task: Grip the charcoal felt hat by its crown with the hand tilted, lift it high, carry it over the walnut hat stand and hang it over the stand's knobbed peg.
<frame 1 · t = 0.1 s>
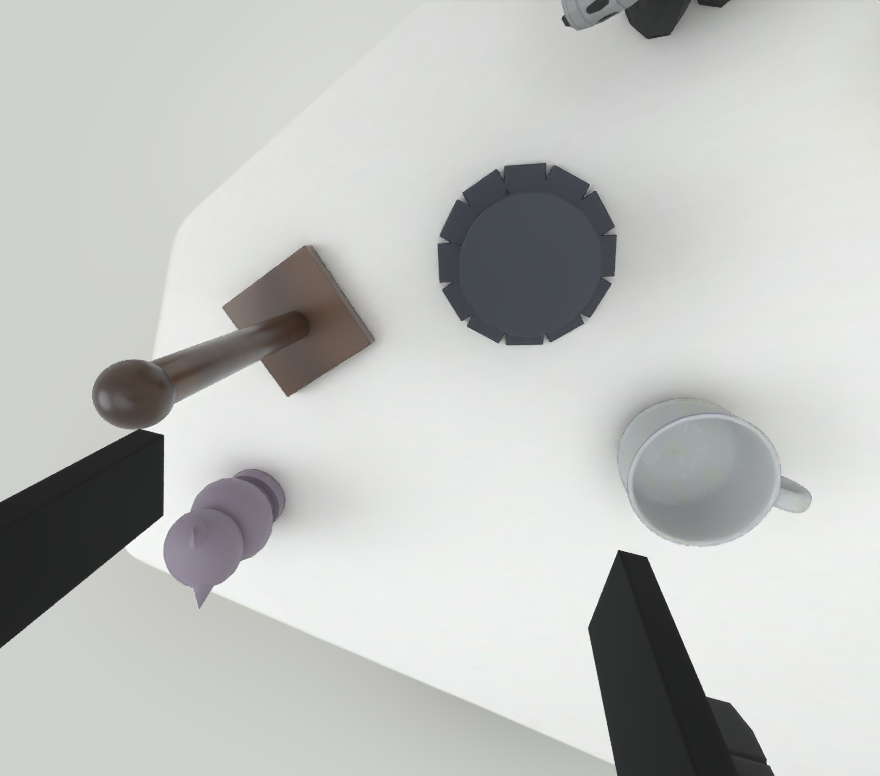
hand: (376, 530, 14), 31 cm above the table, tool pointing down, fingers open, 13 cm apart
teacup: (686, 447, 43), on the table
hat: (524, 259, 40), on the table
hat stand: (302, 322, 44), on the table
cat figurine: (256, 494, 51), on the table
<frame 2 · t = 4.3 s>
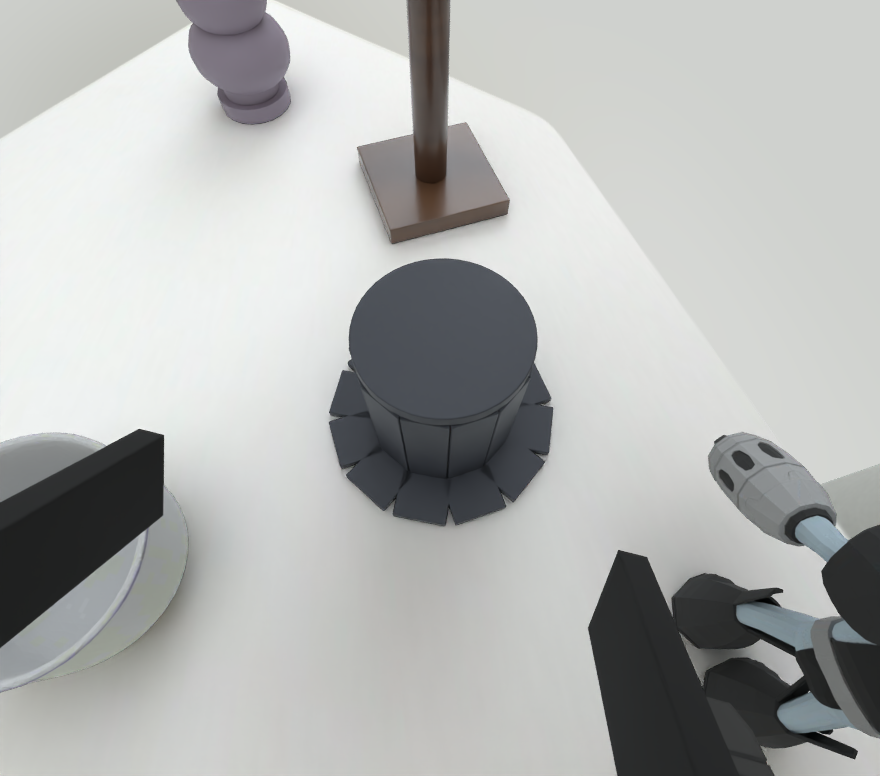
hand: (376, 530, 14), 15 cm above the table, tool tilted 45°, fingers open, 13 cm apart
robot: (722, 654, 26), on the table
teacup: (98, 591, 27), on the table
hat: (441, 412, 32), on the table
hat stand: (431, 187, 41), on the table
cat figurine: (259, 103, 46), on the table
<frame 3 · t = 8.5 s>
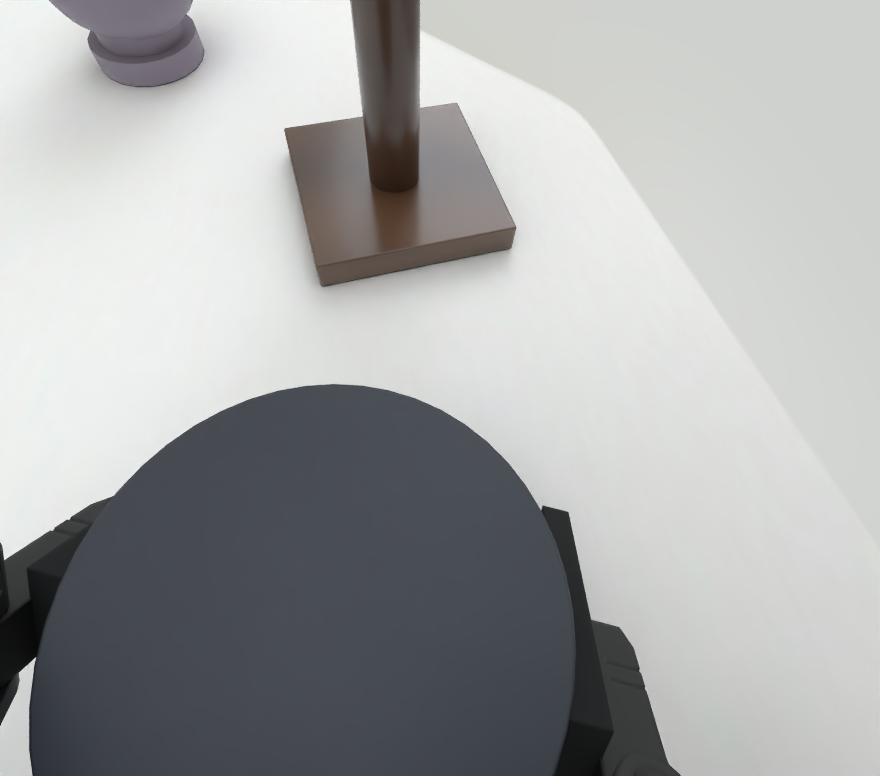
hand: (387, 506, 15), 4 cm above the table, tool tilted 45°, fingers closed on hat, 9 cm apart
hat: (369, 619, 17), on the table, touching gripper
hat stand: (395, 197, 26), on the table
cat figurine: (156, 59, 31), on the table
when the fingers open (18 cm above the table, at t = 22.4 s): hat stays where it is, resting on hat stand.
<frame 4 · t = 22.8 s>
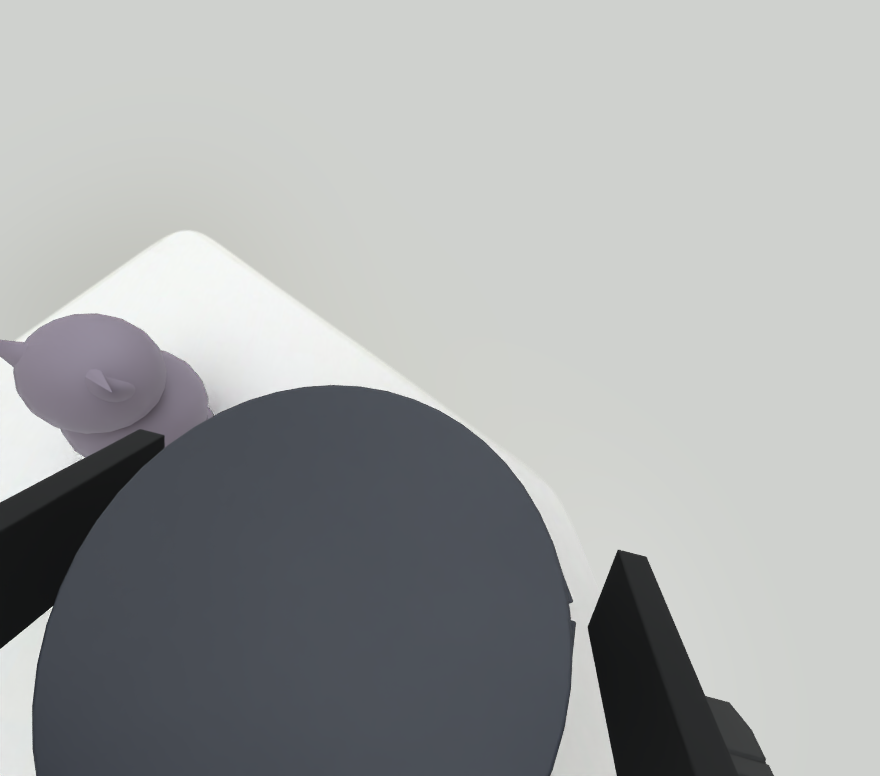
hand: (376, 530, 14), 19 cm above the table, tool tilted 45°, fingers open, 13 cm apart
hat: (369, 617, 17), point 14 cm above the table, touching hat stand
cat figurine: (172, 434, 34), on the table
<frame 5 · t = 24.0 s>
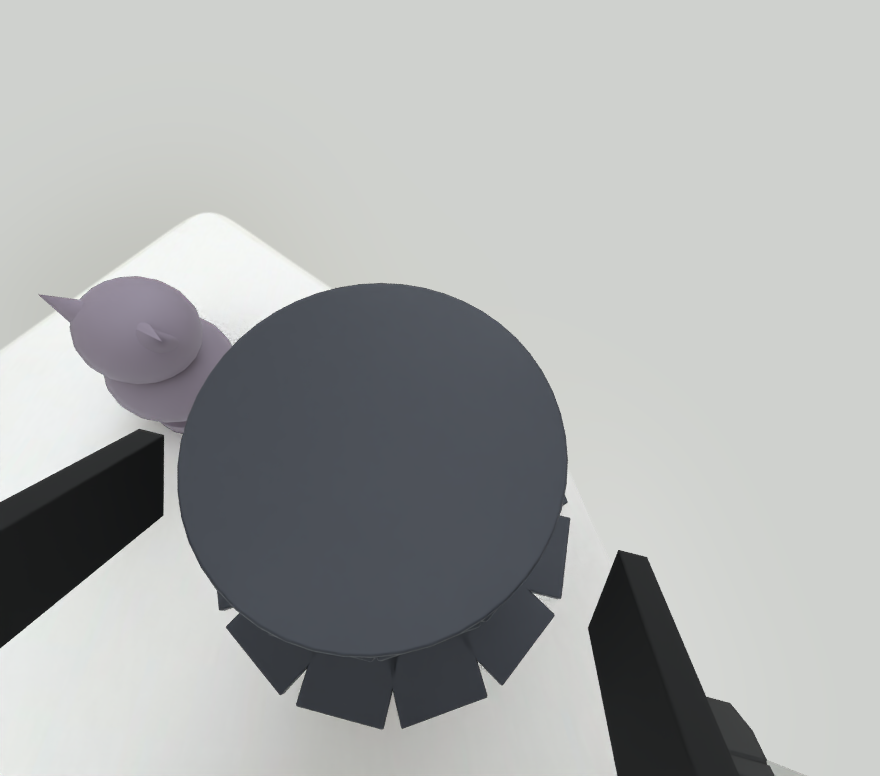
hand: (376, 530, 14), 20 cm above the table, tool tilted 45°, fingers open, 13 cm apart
hat: (394, 516, 20), point 14 cm above the table, touching hat stand
cat figurine: (201, 396, 37), on the table
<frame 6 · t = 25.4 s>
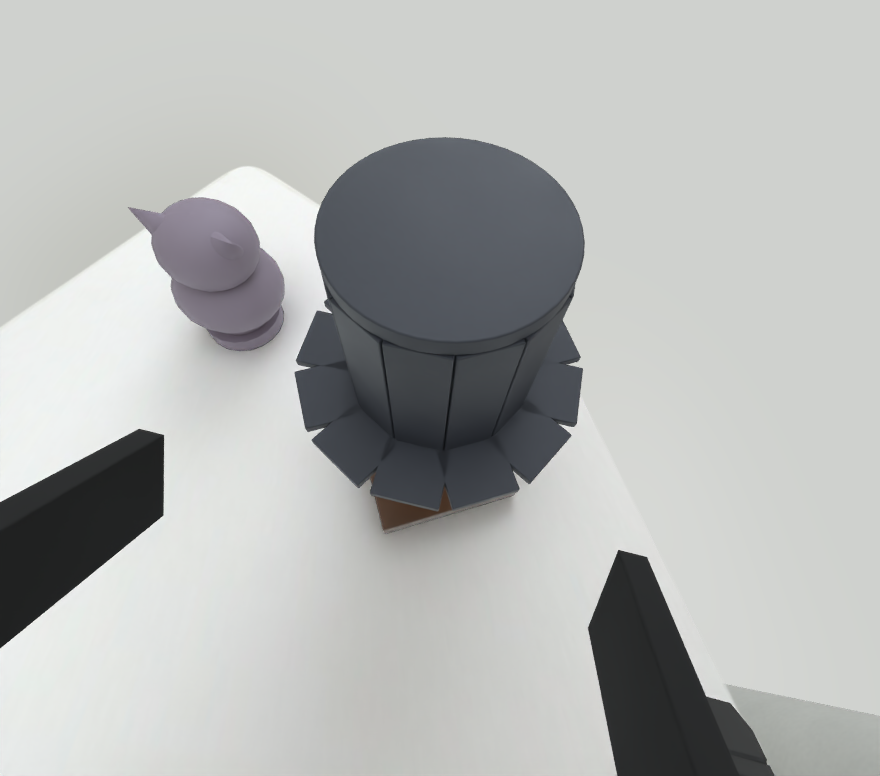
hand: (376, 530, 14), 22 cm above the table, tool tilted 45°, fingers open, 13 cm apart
hat: (440, 368, 25), point 14 cm above the table, touching hat stand
hat stand: (431, 451, 37), on the table
cat figurine: (248, 320, 42), on the table
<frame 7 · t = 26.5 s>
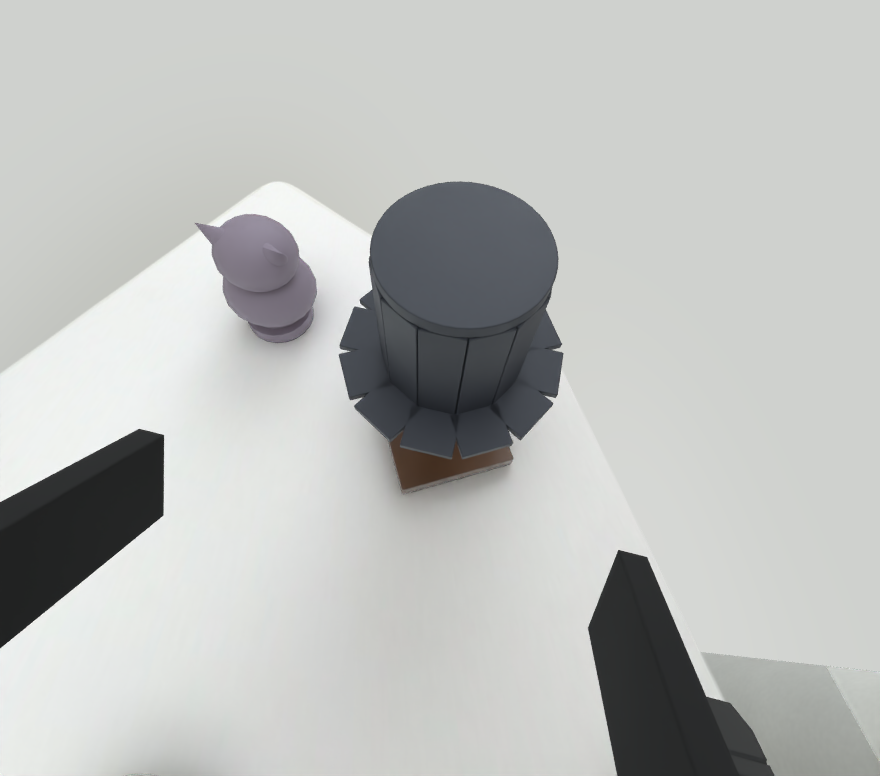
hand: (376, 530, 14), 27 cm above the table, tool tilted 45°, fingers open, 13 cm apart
hat: (451, 352, 32), point 14 cm above the table, touching hat stand
hat stand: (441, 427, 44), on the table
cat figurine: (283, 316, 49), on the table
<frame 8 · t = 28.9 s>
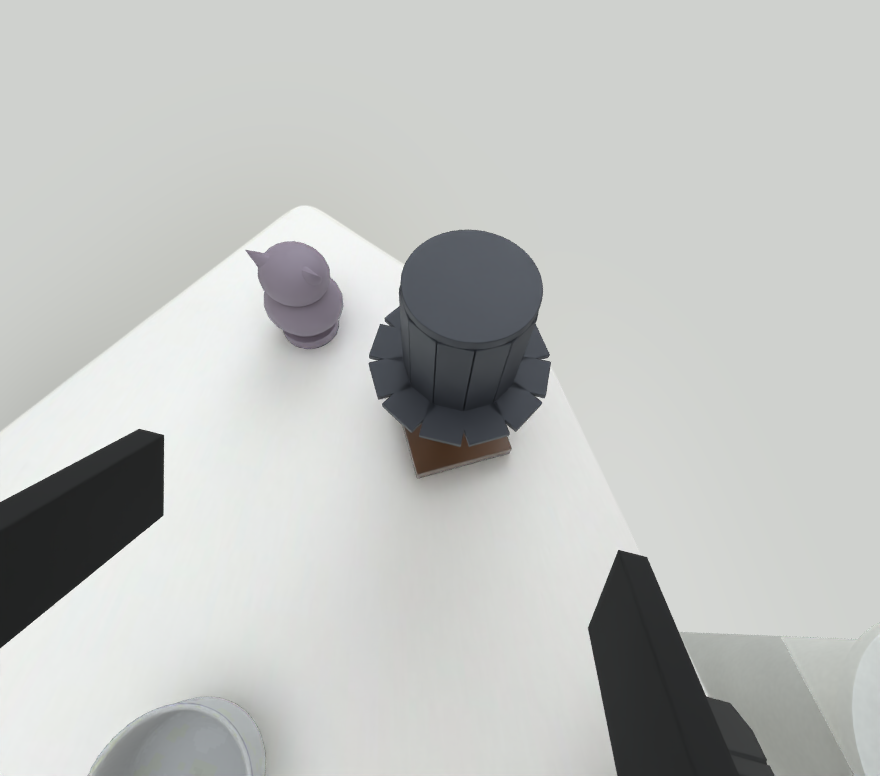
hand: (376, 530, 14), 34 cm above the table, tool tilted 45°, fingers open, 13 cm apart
hat: (459, 361, 39), point 14 cm above the table, touching hat stand
hat stand: (450, 422, 51), on the table
cat figurine: (312, 326, 56), on the table
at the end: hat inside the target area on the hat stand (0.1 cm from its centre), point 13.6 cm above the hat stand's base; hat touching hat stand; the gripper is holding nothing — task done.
